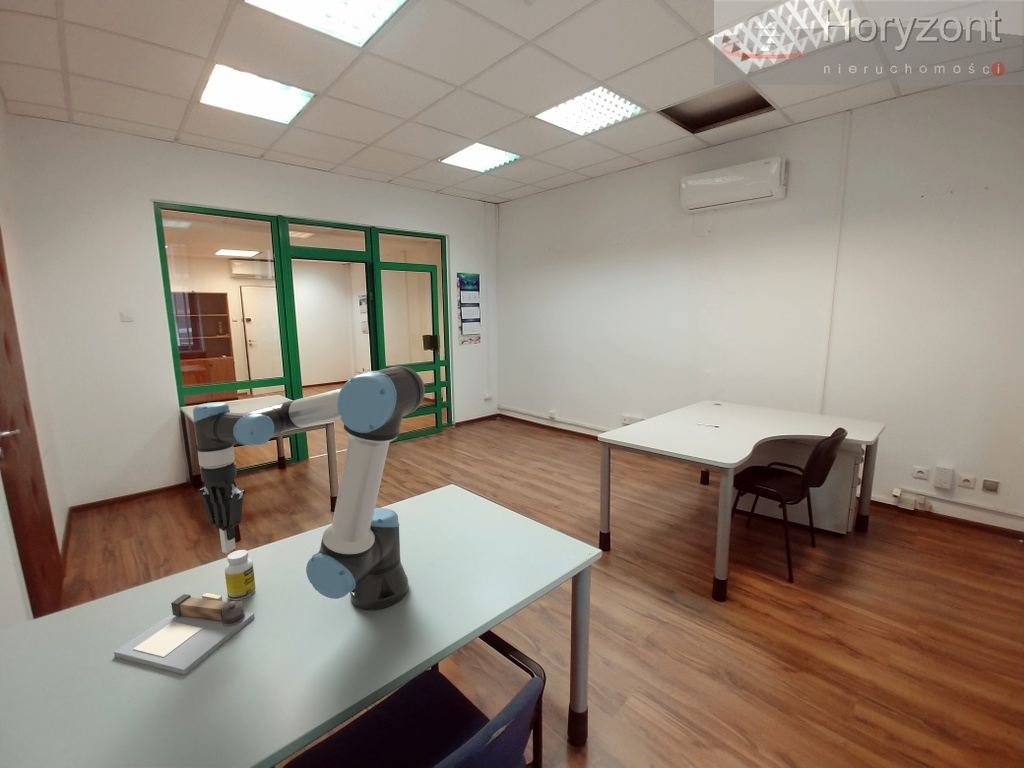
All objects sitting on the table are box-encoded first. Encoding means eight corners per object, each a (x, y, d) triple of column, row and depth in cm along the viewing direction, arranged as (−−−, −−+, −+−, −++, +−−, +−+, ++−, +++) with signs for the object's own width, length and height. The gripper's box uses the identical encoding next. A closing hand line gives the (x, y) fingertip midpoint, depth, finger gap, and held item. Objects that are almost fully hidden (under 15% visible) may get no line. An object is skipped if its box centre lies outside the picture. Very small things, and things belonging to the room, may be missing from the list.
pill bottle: (242, 603, 115) (238, 562, 113) (221, 599, 117) (217, 559, 115) (261, 587, 122) (257, 549, 120) (241, 585, 123) (237, 546, 121)
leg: (248, 612, 109) (246, 598, 108) (234, 624, 105) (232, 609, 104) (186, 605, 112) (185, 590, 111) (171, 616, 108) (168, 601, 107)
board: (254, 617, 110) (252, 601, 109) (184, 674, 92) (182, 656, 92) (191, 604, 115) (189, 589, 114) (114, 656, 97) (111, 638, 97)
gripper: (251, 460, 113) (260, 545, 116) (211, 457, 116) (222, 540, 120) (225, 470, 105) (236, 561, 109) (183, 466, 109) (196, 554, 113)
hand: (229, 550), depth 114 cm, fingers closed
